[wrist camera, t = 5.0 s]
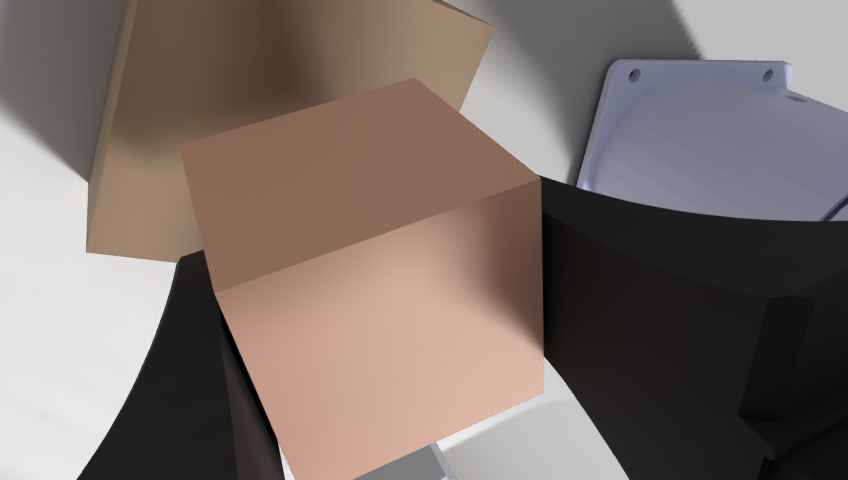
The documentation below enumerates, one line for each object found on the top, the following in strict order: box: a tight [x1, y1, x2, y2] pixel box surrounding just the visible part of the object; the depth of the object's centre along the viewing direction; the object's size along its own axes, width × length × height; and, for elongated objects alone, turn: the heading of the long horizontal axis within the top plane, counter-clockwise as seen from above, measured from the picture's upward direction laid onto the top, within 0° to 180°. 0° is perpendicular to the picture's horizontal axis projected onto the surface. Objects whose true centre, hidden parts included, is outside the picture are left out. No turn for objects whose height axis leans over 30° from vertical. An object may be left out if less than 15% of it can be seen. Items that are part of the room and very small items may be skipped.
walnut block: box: [86, 0, 495, 263], centre depth 17 cm, size 8×8×4 cm
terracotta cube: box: [179, 78, 544, 480], centre depth 11 cm, size 4×4×4 cm
